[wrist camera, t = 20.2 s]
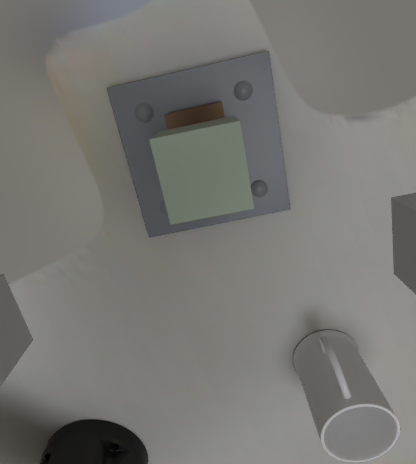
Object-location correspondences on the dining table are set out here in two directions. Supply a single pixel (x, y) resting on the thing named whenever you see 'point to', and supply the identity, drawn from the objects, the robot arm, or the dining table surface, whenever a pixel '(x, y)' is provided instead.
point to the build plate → (234, 104)
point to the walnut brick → (194, 115)
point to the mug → (344, 398)
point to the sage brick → (202, 170)
